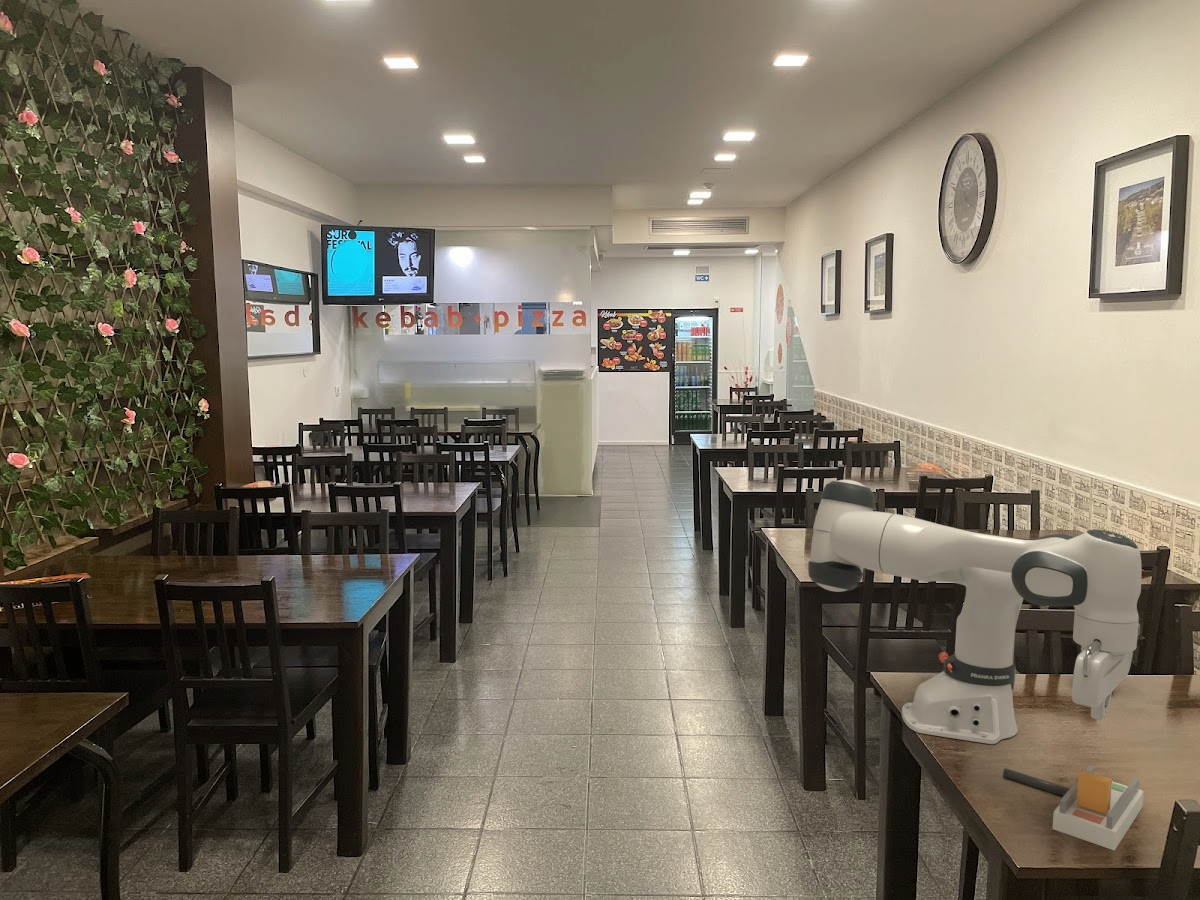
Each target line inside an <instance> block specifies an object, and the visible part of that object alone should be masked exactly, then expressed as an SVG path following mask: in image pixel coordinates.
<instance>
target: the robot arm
mask: <svg viewBox="0 0 1200 900" xmlns="http://www.w3.org/2000/svg"><path fill="white" fill-rule="evenodd" d="M875 497H876V496H875V493H874V492H873V490H872V489H871V488H870V487H867V486H866V485H865V484H863V483H861V482H859V481H856V480H853V479H840V480H832V481H830V482H828V483H827V484H825V486H824V487H823V490H822V492H821V495H820V497H819V499H821V500H820V502H819V505H818V508H817V511H816V515H815V519H814V522H813V528H812V529H813V531H812V538H811V539H812V540H811V546H810V560H809V561H808V563H807V565H808V577H809V578H810V579H811V581H812V582H814V583H815V584H816V585H818V586H819V587H821V588H823V589H824V590H826V591H829V592H837V593H840V592H846V591H853V590H854V589H855V588H857V587H858V586H859V584H860V582H861V581H862V579H863V577H864V573H863V570H864V569H866V570H869V571H873V572H876V573H880V574H885V575H890V576H895V577H902V578H907V579H910V580H917V581H919V582H926V583H929V582H944V583H954V584H958V585H962V586H964V587H965V595H964V602H963V604H962V608H961V611H960V614H959V615H958V616H957V618H956V628H955V629H956V630H955V644H954V649H955V650H954V653H953V654H952V655H949V654H948V652H945V651H941V652H940V653H939V654H938V659H939V661H940V662H941V663H942V664H943V670H942V671H941V672H939V673H938V674H936V675H934V676H932V677H931V678H929V679H927V680H925V681H923V682H921V683H920V684H919V685H917V688H916V690H915V693H914V696H913V701H912V702H906V703H904V705H903V706H902V707H901V719H902V721H903V722H904V723H905V725H906V726H907V727H908V728H909V729H910V730H912V731H914V732H916V733H919V734H925V735H930V736H937V737H943V738H949V739H955V740H956V739H957V740H962V741H969V742H975V743H981V744H982V743H983V744H988V745H995V744H998V743H999V742H1000V741H1001V740H1005V739H1008V738H1012V737H1014V736H1015V735H1017V734H1018V732H1019V730H1018V729H1019V728H1018V726H1017V721H1016V716H1015V708H1014V698H1013V695H1014V694H1013V691H1014V687H1015V684H1016V663H1015V662H1014V652H1015V651H1014V650H1015V637H1016V636H1015V635H1016V628H1017V622H1018V619H1019V615H1020V611H1021V608H1022V605H1023V601H1026V602H1028V603H1030V604H1032V605H1035V606H1040V607H1074V616H1073V629H1072V630H1073V633H1072V640H1073V642H1075V643H1076V644H1077V643H1078V644H1079V645H1081V651H1082V652H1081V653H1080V654H1079V655H1078V654H1077V657H1076V659H1075V662H1074V669H1073V672H1074V676H1073V677H1072V685H1071V686H1072V688H1071V700H1072V702H1073V703H1074V704H1075V705H1080V706H1085V707H1088V708H1090V718H1092V719H1094V720H1097V721H1102V720H1103V719H1104V718H1105V717H1106V716H1107V715H1108V713H1109V704H1110V701H1111V698H1112V695H1113V694H1112V693H1113V691H1114V690H1115V689H1116V688H1117V687H1118V686H1119V684H1121V683H1122V682H1123V681H1124V679H1125V678H1126V677H1127V676H1128V675H1129V672H1130V669H1131V665H1132V661H1133V654H1134V651H1136V649H1137V648H1138V647H1137V645H1138V638H1139V636H1140V629H1141V628H1140V627H1141V625H1140V623H1139V620H1140V618H1139V617H1140V616H1139V612H1138V608H1137V607H1138V606H1137V605H1138V600H1139V597H1140V595H1141V593H1142V576H1143V575H1142V567H1143V566H1142V558H1141V551H1140V549H1139V545H1137V544H1136V543H1135V542H1134V540H1132V539H1131V538H1129V537H1127V536H1125V535H1123V534H1120V533H1117V532H1113V531H1109V530H1106V529H1105V530H1102V529H1089V530H1087V531H1085V532H1083V533H1081V534H1080V535H1077V536H1071V535H1069V534H1063V533H1054V534H1049V535H1044V536H1040V537H1034V538H1022V537H1021V538H1019V537H1013V536H1006V535H999V534H992V533H991V534H990V533H983V532H979V531H977V532H975V531H971V530H965V529H960V528H956V527H952V526H948V525H943V524H939V523H936V522H932V521H928V520H925V519H921V518H918V517H912V516H907V515H904V514H898V513H891V512H883V511H877V507H876V498H875Z"/></svg>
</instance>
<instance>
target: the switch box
mask: <svg viewBox="0 0 1200 900" xmlns="http://www.w3.org/2000/svg"><path fill="white" fill-rule="evenodd" d="M1095 768H1096V766H1094V765H1092V764H1089V765H1088V766H1087V768H1085V770H1084V771H1087V772H1091V773H1094V774H1095V771H1096V770H1095ZM1002 772H1003V773H1002V777H1004V778H1006V779H1009V780H1013V781H1015V782H1019V783H1022V784H1025V785H1028V786H1031V787H1034V788H1038V789H1041V790H1044V791H1047V792H1049V793H1053V794H1056V795H1059V796H1062V798H1061V799H1060V800H1059V804H1058V806H1057V807H1056V808H1055V810H1053V815H1052V816H1053V817H1052V818H1053V819H1052V830H1055V831H1056V832H1059V833H1063V834H1066V835H1068V836H1071V837H1075V838H1077V839H1080V840H1083V841H1086V842H1088V843H1092V844H1094V845H1098V846H1100V847H1102V848H1106V849H1108V850H1111V851H1114V852H1115V851H1116V849H1117V847H1119V845H1120V842H1121V841H1122V840H1123V838H1124V837H1125V835H1126V834H1127V833H1128V831H1129V829H1130V828H1131V826H1132V824H1133V823H1134V822H1135V820H1136V819H1137V816H1138V815H1139V813H1140V812H1141V811H1142V809H1143V806H1144V805H1143V804H1144V803H1143V802H1144V790H1141V789H1139V787H1140V779H1139V778H1137V777H1136V778H1135V777H1133V779H1131V781H1130V783H1129V784H1128V785H1125V784H1121V783H1118V782H1115V781H1112V787H1111V800H1110V810H1109V811H1108V813H1107V814H1105V813H1102V812H1099V811H1096V810H1093V809H1090V808H1086V807H1083V806H1080V805H1077V790H1078V779H1076V781H1075V782H1074V783H1073V784H1072V785H1071V786H1070V788H1069V787H1067V786H1064V785H1060V784H1057V783H1053V782H1050V781H1048V780H1045V779H1041V778H1038V777H1035V776H1032V775H1029V774H1025V773H1023V772H1019V771H1015V770H1012V769H1009V768H1006V767H1004V768H1003V771H1002Z"/></svg>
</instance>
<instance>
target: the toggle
mask: <svg viewBox="0 0 1200 900" xmlns="http://www.w3.org/2000/svg"><path fill="white" fill-rule="evenodd" d="M1077 780H1078V790H1077V805H1080V806H1083V807H1086V808H1090V809H1093V810H1096V811H1099V812H1102V813H1105V814H1107V813H1108V811H1109V810H1110V800H1111V787H1112V782H1113V778H1111V777H1107V776H1103V775H1100V774H1098V773H1097V774H1096V773H1095V772H1094V773H1091V772H1087V771H1085V770H1083V769H1081V771H1080V772H1079V773H1078V777H1077Z"/></svg>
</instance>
